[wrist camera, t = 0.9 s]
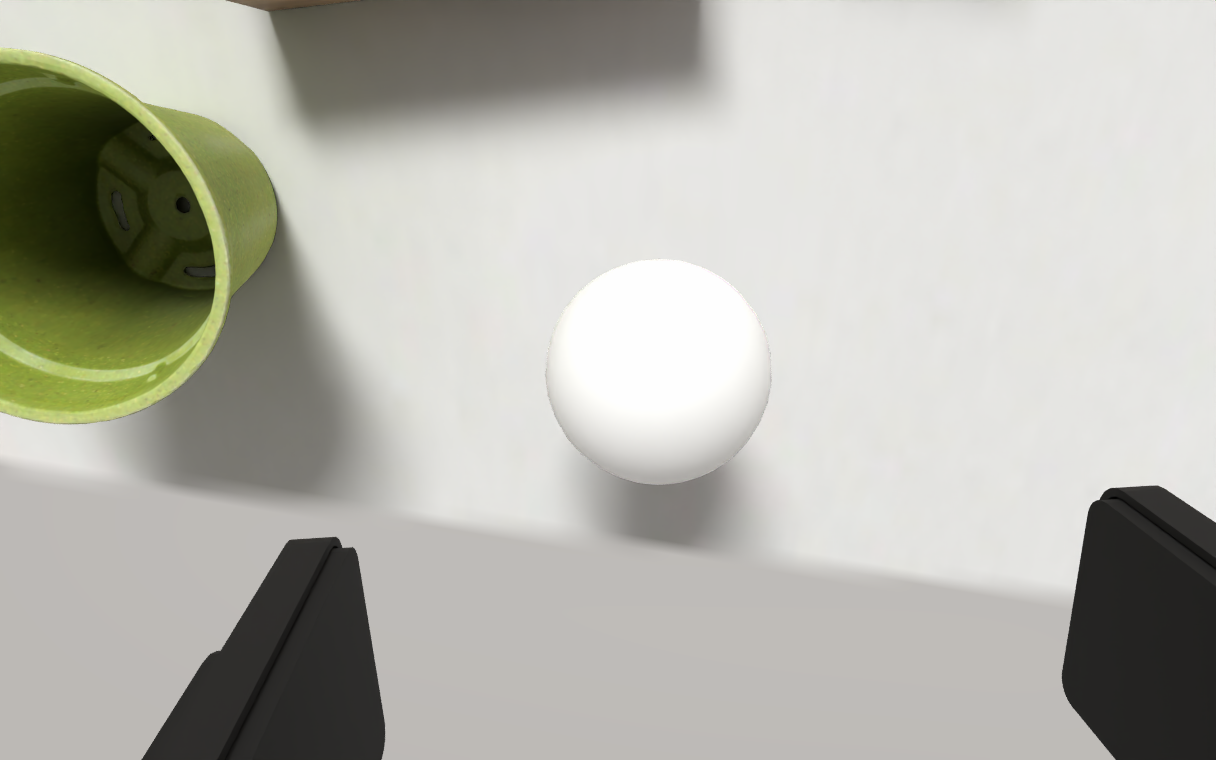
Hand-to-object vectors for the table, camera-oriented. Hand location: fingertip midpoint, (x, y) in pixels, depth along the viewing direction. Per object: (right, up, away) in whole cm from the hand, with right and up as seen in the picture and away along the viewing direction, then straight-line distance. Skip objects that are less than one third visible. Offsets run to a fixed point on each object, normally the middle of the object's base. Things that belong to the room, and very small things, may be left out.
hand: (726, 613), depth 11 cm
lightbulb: (0, +6, +20) cm, 21 cm away
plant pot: (-16, +9, +19) cm, 26 cm away
